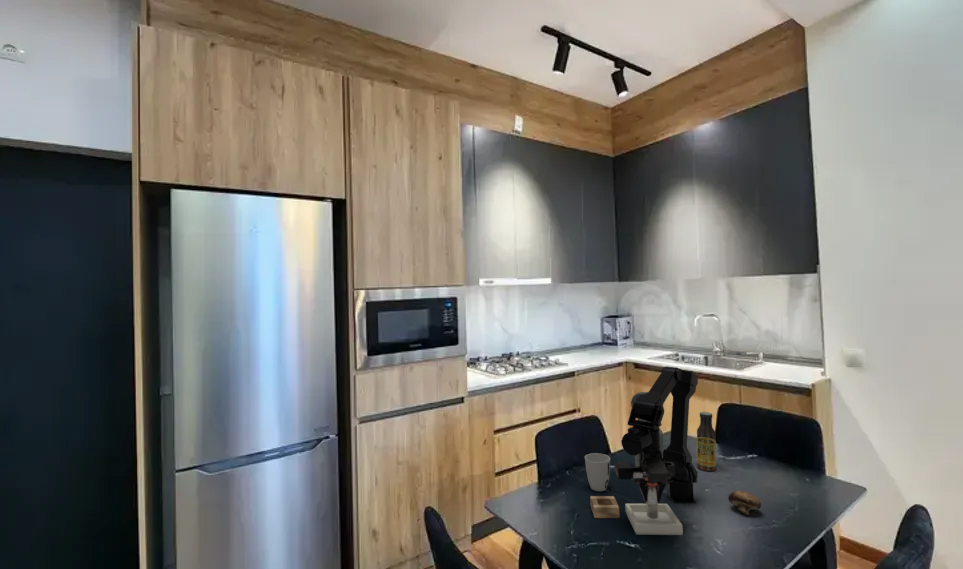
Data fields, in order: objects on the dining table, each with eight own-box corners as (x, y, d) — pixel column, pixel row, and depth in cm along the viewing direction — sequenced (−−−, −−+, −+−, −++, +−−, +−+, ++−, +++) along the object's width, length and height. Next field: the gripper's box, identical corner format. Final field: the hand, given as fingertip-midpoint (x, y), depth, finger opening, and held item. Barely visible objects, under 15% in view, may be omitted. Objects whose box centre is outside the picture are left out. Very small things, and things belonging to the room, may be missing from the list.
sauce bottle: (695, 470, 157) (693, 414, 158) (697, 463, 162) (695, 409, 163) (716, 473, 154) (714, 416, 154) (717, 467, 159) (715, 411, 159)
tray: (667, 512, 128) (667, 503, 128) (682, 535, 116) (682, 525, 116) (625, 512, 129) (625, 503, 129) (636, 534, 117) (635, 525, 117)
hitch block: (614, 506, 133) (613, 496, 133) (619, 518, 126) (619, 507, 126) (590, 506, 134) (590, 496, 134) (594, 517, 127) (594, 507, 127)
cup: (612, 494, 141) (611, 462, 141) (586, 492, 143) (585, 461, 143) (610, 483, 149) (608, 453, 149) (585, 482, 150) (584, 452, 151)
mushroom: (747, 510, 121) (746, 487, 125) (722, 510, 128) (722, 488, 131) (768, 520, 123) (766, 496, 126) (742, 519, 130) (741, 497, 133)
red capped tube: (657, 512, 125) (656, 476, 125) (662, 519, 121) (660, 482, 121) (643, 512, 125) (641, 476, 125) (647, 519, 121) (645, 482, 121)
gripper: (621, 455, 116) (624, 515, 116) (695, 455, 114) (698, 516, 114) (612, 441, 127) (615, 496, 127) (679, 441, 126) (682, 496, 125)
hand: (651, 501), depth 123 cm, fingers closed on red capped tube, 3 cm apart
